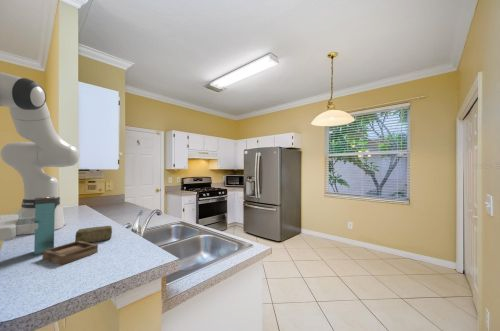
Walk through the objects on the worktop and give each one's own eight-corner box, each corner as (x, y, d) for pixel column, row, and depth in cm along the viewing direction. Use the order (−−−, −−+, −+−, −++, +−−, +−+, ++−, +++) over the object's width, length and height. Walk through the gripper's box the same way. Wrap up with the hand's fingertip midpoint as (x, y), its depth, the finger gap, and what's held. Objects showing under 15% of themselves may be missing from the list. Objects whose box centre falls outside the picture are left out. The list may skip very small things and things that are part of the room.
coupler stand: (42, 259, 65) (42, 250, 65) (78, 247, 74) (78, 240, 74) (62, 265, 61) (62, 256, 61) (97, 252, 71) (97, 244, 71)
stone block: (112, 240, 83) (112, 227, 83) (74, 246, 76) (74, 232, 76) (111, 236, 88) (111, 224, 88) (76, 241, 81) (76, 228, 81)
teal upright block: (33, 251, 71) (35, 196, 71) (53, 247, 74) (54, 195, 74) (33, 255, 67) (35, 198, 68) (54, 251, 71) (55, 197, 71)
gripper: (-40, 228, 53) (38, 219, 63) (-24, 214, 67) (38, 208, 77) (-40, 253, 53) (38, 240, 63) (-24, 233, 67) (37, 225, 77)
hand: (38, 222), depth 70 cm, fingers open, 8 cm apart
